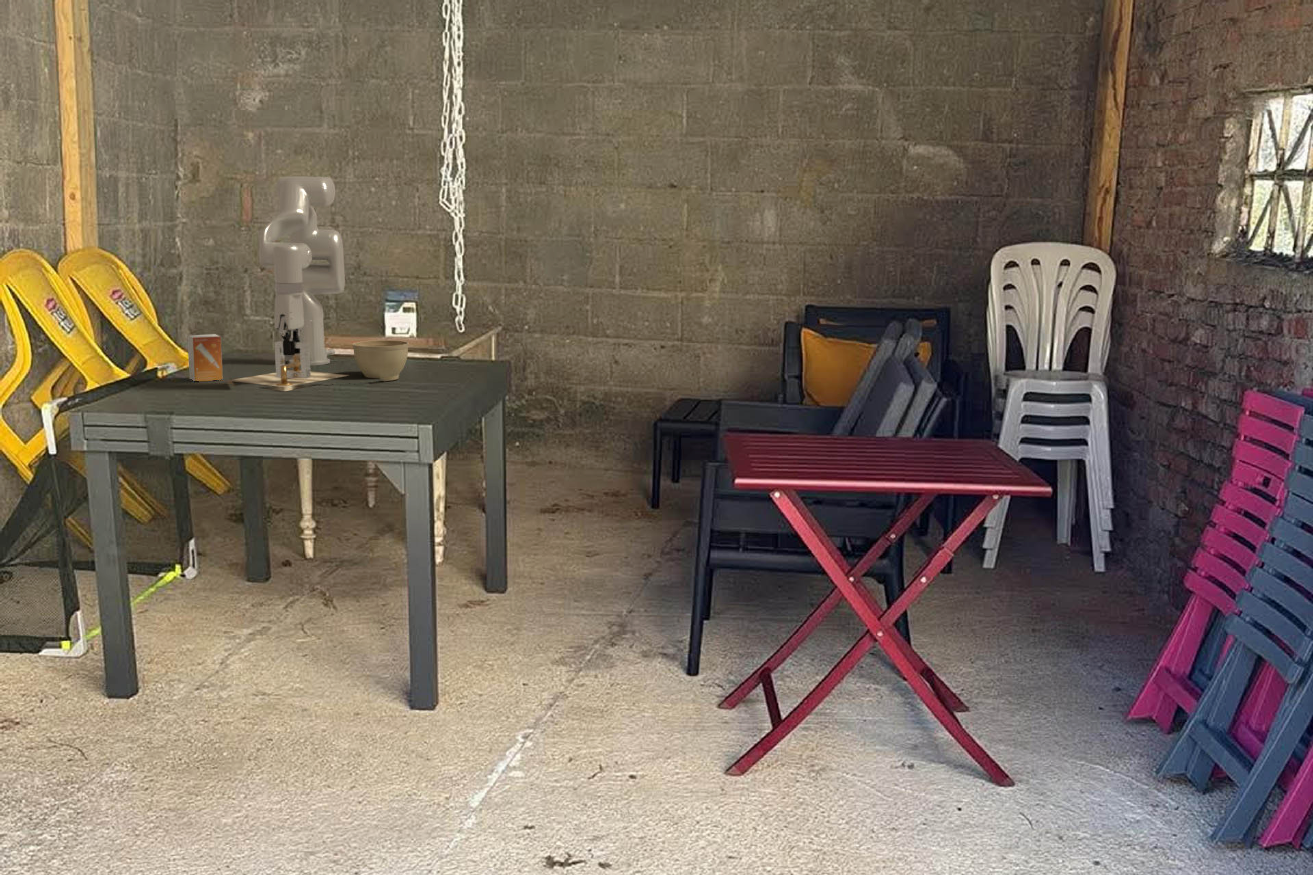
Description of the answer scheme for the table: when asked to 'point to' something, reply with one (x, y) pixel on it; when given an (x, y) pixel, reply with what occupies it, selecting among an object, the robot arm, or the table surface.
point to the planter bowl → (381, 358)
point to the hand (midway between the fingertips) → (291, 353)
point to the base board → (272, 380)
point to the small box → (205, 357)
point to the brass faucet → (284, 370)
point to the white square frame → (303, 356)
